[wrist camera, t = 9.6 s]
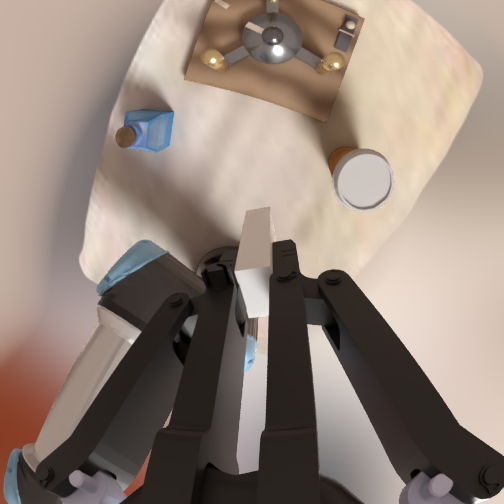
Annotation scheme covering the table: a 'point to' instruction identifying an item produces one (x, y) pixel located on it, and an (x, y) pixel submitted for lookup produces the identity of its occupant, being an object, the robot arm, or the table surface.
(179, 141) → the table surface
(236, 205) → the table surface
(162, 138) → the perfume bottle
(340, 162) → the disposable coffee cup
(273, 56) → the capstan
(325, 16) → the stand
